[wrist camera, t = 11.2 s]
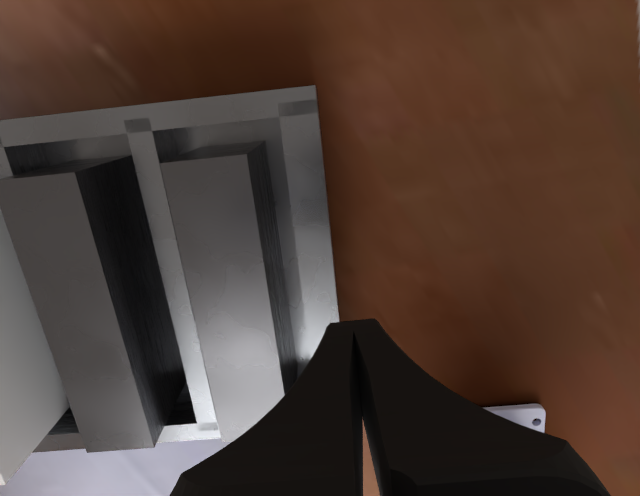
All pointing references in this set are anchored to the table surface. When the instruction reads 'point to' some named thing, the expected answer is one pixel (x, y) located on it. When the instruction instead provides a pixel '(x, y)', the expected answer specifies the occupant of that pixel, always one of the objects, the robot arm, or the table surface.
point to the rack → (173, 260)
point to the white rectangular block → (23, 368)
